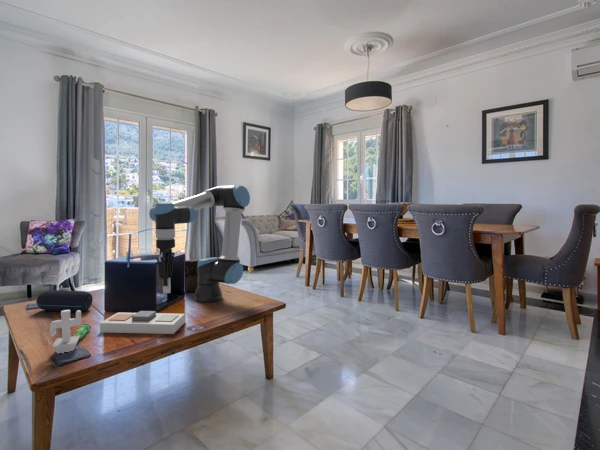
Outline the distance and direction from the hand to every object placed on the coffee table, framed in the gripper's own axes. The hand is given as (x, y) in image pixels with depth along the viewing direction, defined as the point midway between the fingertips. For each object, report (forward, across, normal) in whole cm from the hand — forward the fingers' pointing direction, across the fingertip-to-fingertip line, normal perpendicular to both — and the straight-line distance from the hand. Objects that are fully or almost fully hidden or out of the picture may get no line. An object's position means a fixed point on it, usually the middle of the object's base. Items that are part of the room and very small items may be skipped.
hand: (166, 292), depth 140 cm
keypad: (+15, 0, -10) cm, 18 cm away
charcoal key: (+12, 0, -10) cm, 16 cm away
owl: (+16, -58, -8) cm, 61 cm away
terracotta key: (+14, 0, -20) cm, 25 cm away
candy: (+16, +12, -30) cm, 36 cm away
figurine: (+15, +23, -27) cm, 39 cm away
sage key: (+14, 0, 0) cm, 14 cm away
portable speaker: (+16, -19, -59) cm, 64 cm away
